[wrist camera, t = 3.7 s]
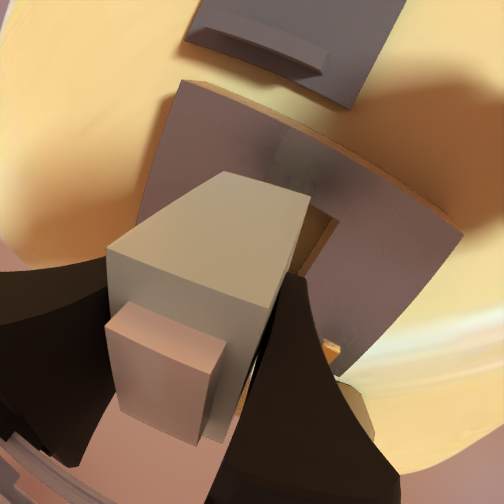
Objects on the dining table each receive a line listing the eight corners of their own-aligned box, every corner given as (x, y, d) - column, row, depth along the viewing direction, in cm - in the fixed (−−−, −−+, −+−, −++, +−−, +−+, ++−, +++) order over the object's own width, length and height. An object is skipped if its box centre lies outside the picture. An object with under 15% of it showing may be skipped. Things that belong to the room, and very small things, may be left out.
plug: (311, 196, 10) (254, 343, 4) (273, 314, 12) (212, 467, 6) (223, 170, 10) (76, 268, 4) (203, 289, 13) (110, 419, 7)
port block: (447, 215, 16) (465, 237, 13) (342, 347, 22) (338, 380, 19) (206, 81, 16) (178, 79, 13) (150, 242, 22) (124, 263, 20)
